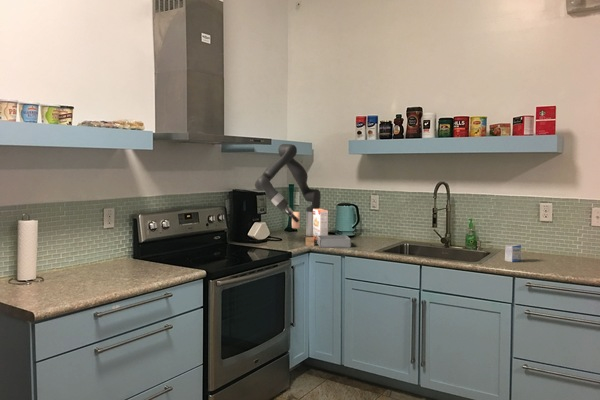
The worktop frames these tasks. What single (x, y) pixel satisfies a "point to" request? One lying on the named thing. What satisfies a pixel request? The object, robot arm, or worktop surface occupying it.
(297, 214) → the spice jar
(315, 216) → the cracker box
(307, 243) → the walnut block
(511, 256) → the medicine box
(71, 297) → the worktop surface
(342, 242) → the tote
